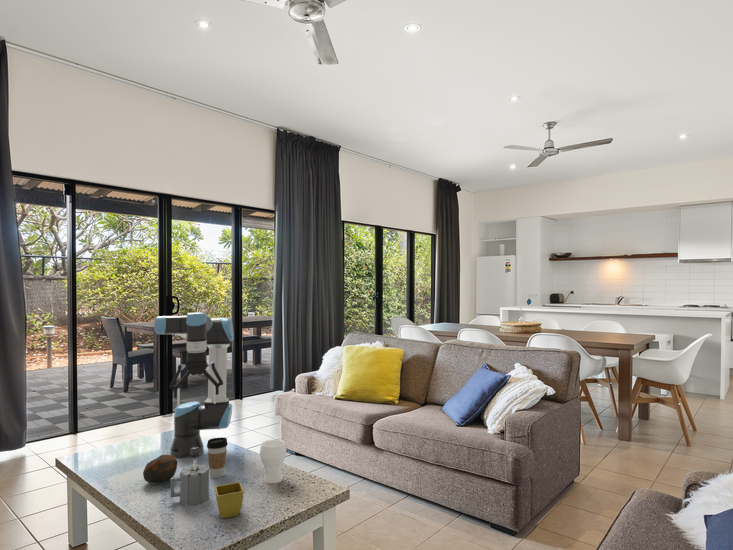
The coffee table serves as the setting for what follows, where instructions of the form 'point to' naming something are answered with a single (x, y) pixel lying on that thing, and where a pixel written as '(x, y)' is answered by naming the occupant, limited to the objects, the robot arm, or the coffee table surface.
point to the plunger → (194, 454)
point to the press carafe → (192, 485)
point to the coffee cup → (217, 456)
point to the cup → (273, 460)
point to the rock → (160, 469)
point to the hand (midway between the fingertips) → (196, 404)
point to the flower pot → (229, 499)
